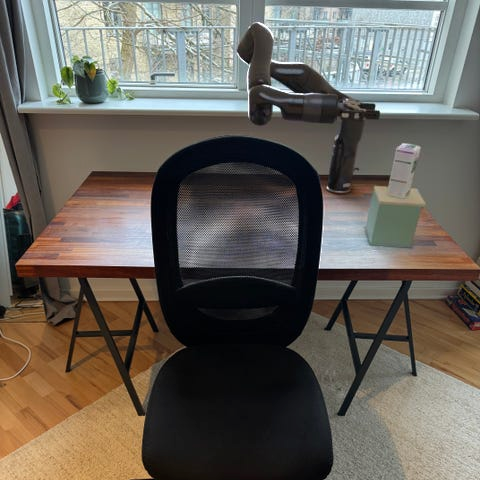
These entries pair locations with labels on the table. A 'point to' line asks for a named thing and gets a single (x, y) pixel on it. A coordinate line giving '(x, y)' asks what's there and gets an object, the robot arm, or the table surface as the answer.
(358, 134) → the robot arm
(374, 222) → the box
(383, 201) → the lid
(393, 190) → the syrup box
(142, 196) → the table surface
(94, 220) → the table surface
